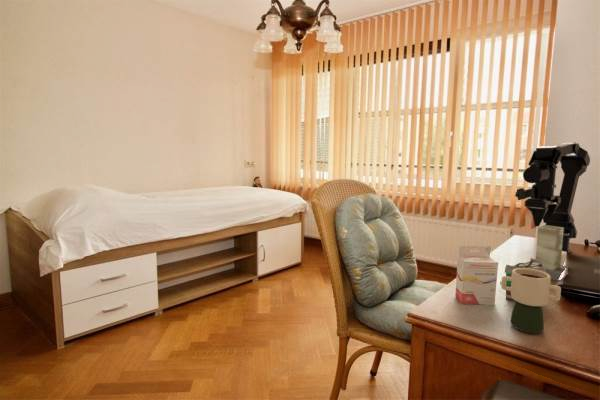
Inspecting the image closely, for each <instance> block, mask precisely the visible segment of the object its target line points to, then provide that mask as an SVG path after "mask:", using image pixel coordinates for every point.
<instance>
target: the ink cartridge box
mask: <svg viewBox="0 0 600 400" xmlns="http://www.w3.org/2000/svg"><path fill="white" fill-rule="evenodd" d="M473 250H476V251H473ZM456 263H457V264H456V266H457V267H456V281H455V297H456V299H457V300H458V301H459V303H460V304H463V305H464V304H465V305H481V306H482V305H484V306H485V305H487V306H495V305H496V293H497V280H498V279H497V278H498V269H499V262H498V261H497V260H496V259H494V258H492V257H491V246H490V245H460V246H459V249H458V256H457V262H456Z"/></svg>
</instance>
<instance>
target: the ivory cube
mask: <svg viewBox="0 0 600 400" xmlns="http://www.w3.org/2000/svg"><path fill="white" fill-rule="evenodd" d="M567 255H568V254H567V252H565V251H562V253H561V266H563V264H564V262H565V260H566V261H567Z"/></svg>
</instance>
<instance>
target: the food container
mask: <svg viewBox="0 0 600 400" xmlns="http://www.w3.org/2000/svg"><path fill="white" fill-rule="evenodd" d="M517 268H528V269H535V270H539V271H542V272H545V273H546V269H545V266H544V264H543V263H542V262H541V261H538V260H536V258H533V257H531V258H530V261H527V262H518V263H517V264H515V265H510V264H506V265H505V269H504V273H505V276H508V277H512V270H514V269H517ZM506 286H508V287H511V281H507V282H506ZM505 300H506V301H508V302H512V303H515V302H516V301H515V300H514V299H513V298H512V297H511V291H507V290H505Z"/></svg>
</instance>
